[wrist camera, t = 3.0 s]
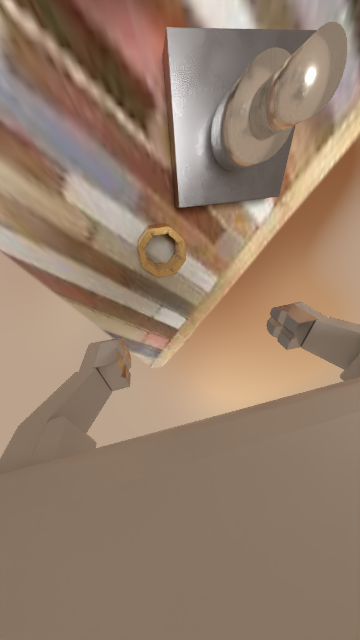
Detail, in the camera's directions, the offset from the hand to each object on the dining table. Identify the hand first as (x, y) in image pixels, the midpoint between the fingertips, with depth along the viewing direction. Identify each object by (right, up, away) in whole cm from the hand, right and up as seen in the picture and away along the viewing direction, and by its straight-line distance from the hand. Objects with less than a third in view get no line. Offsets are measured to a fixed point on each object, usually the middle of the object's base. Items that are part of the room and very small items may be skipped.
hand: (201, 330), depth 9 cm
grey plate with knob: (+4, +23, +11) cm, 26 cm away
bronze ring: (-4, +12, +17) cm, 21 cm away
